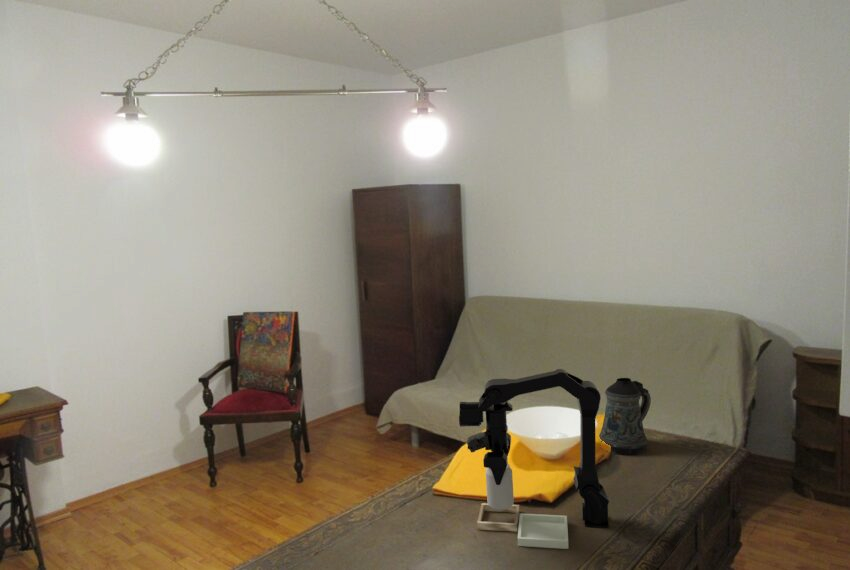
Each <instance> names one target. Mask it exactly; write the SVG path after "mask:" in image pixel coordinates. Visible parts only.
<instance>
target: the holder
mask: <svg viewBox="0 0 850 570" xmlns="http://www.w3.org/2000/svg"><path fill="white" fill-rule="evenodd" d="M485 512H494V513H495V512H496V513H515V516H514V522H500V521H499V522H498V521H483V518H484V515H485ZM519 517H520V504H513V505H512V506H511V507H510V508H509V509H507V510H495V509H493V508H491V507H490V506H489V505H488V503H485V502H483V503H481V505H480V509H479V513H478V517H477V521H476V528H477V529H476V530H480V531H481V530H482V531H496V532H497V531H501V532H515V533H518V528H519Z"/></svg>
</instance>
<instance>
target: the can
mask: <svg viewBox="0 0 850 570" xmlns="http://www.w3.org/2000/svg"><path fill="white" fill-rule="evenodd" d="M513 482H514V481H513V469H512V468H511V466H510V464H509V463H508V464H507V467H506V470H505V473H504V475H503V478H502V481H501V484H500V485H496V483H495V479H494V476H493V473H492V471H491V469H490V468H486V469H485V484H486V498H487V500H486V501H487V503H488V505H489V506H490V507H491V508H493V509H495V510H507V509H509V508H510V507H511V506H512V505H515V504H514V503H515V499H514V483H513Z"/></svg>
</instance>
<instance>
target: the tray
mask: <svg viewBox="0 0 850 570" xmlns="http://www.w3.org/2000/svg"><path fill="white" fill-rule="evenodd" d="M568 531H569V530H568V515H559V514H558V515H557V514H540V513H538V514H537V513H520V512H519V521H518V531H517V547H529V548H531V547H532V548H545V549H548V548H549V549H563V550H564V549H565V550H569V532H568Z"/></svg>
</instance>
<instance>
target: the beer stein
mask: <svg viewBox="0 0 850 570" xmlns="http://www.w3.org/2000/svg"><path fill="white" fill-rule="evenodd" d="M643 385H644V384H643V383H642V382H639V381H638V380H632V379H631V378H630V377H619V378H617V379H616V380H615V382H614V383H612V384H611V385H610V386H608V387H607V388H606V389H605V391H604V394H605V397H606V405H605V410H604V417H603V421H602V426H601V430H600V432H599V435H598V438H599V437H600V439H601V440H602V441H604V442H605V443H606V444H608V445H610V446H611V453H610V454H612V455H618V456H619V455H620V456H636V455H639V454H641V453H644V452H645V450H646V447H647V444H648V439H647V436H646V433H645V431H644V424H643V421H644V420H645V418H646V416H647V414H648V413H649V410H650V407H651V399H652V398H651V394H650V393H649V390H648V389H646V388H644V386H643ZM640 399H641V402H640Z"/></svg>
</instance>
